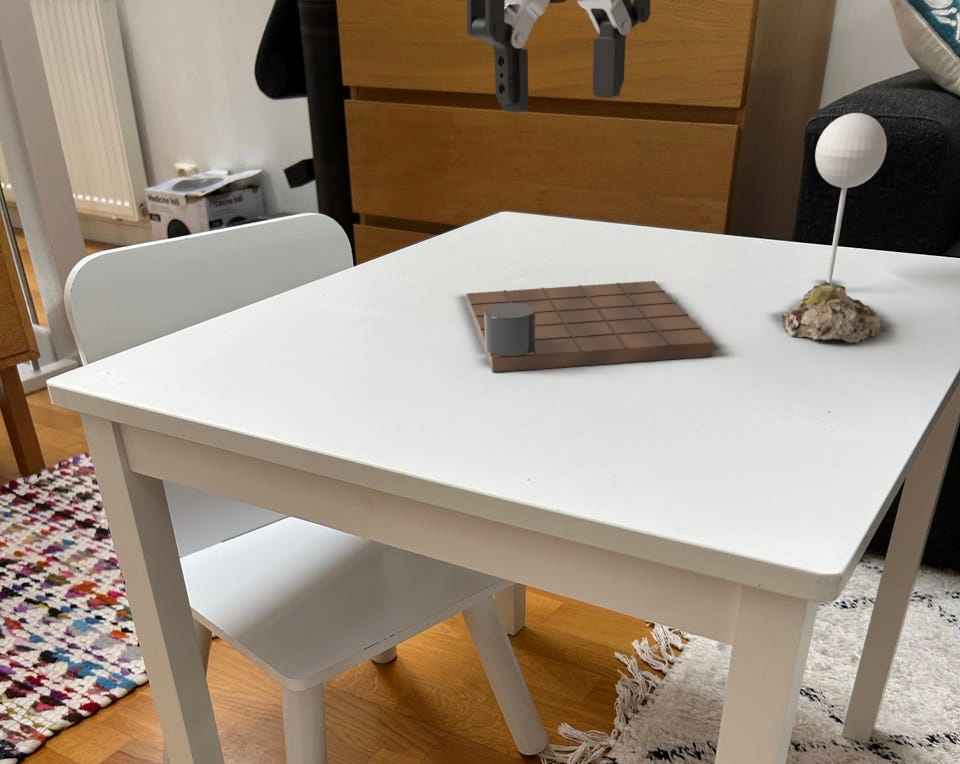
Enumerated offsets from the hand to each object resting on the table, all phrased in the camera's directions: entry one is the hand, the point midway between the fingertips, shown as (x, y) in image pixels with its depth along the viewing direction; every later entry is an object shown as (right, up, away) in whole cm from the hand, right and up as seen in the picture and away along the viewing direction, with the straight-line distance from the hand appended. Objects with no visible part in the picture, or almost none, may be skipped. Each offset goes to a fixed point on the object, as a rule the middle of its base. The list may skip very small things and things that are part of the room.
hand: (562, 104), depth 70 cm
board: (+3, -11, +17) cm, 20 cm away
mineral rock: (+24, -11, +15) cm, 31 cm away
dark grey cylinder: (-3, -14, +10) cm, 18 cm away
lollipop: (+27, -5, +24) cm, 36 cm away
